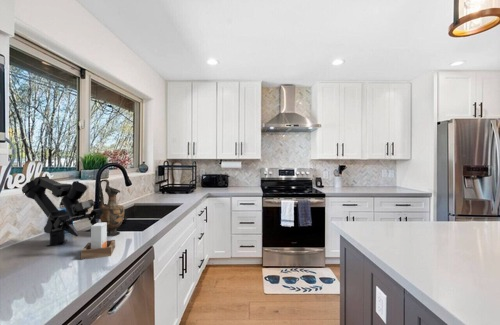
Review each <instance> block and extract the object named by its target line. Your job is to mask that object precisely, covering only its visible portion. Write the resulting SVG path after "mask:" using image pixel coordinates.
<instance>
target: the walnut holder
mask: <svg viewBox="0 0 500 325" xmlns="http://www.w3.org/2000/svg"><path fill="white" fill-rule="evenodd" d="M115 248H116V239H110V240H107V247H105V248H97V249H91V241H90V242H87V244H86V245H85V246H84V247H83V248H82V249H81V251H80V258H81V261H83V260H88V259H96V258H97V259H98V258H104V257H112V255H113V253H114V250H115Z"/></svg>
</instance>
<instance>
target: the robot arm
mask: <svg viewBox="0 0 500 325" xmlns="http://www.w3.org/2000/svg"><path fill="white" fill-rule="evenodd" d="M46 190H49V191H51V194H52V196H54V197H55V198H62V199H60V202H59V205H60V206H63V207H64V208H65V209H62V210H60V209H58V208H57V207H56V205H55V204H54V203H53V202H52V200H51V199H50V198H49V196H48V195H47V194H46ZM87 190H88V187H87V185H86V184H84V183H83V182H80V181H79V180H76V181H75V180H74V181H73V182H72V184H71V183H62V182H58V181H56V180H54V179H51V178H49V177H48V176H37V177H34V178H33V180H30V181H28V182H26V183H25V184H24V185H23V186H22V187H21V191H22V194H24V193H25V195H24V196H26V198H28V199H31V200H34V201H35V203H36V204H37V205H38V206H39V207H40V210H42V212H43V213H44V214H45V216H46V217H47V220H46V224H45V225H44V227H43V232H44V233H46V234H49V242H48V243H47V244H46V247H50V246H60V245H61V246H62V245H64V244H65V243H67V242H68V239H66V233H69V234H70V235H72V236H74V237H78V236H79V234H78V231H77V229H76V228H75V226H74V223H73V222H78V221H82V220H86V219H88V220H89V223H90V224H91V226H92V225H94V224H96V223H100V222H99V220H100V216H101V215H102V213H103V211H102V210H101V209H100V208H96V209H92V207H94V206H95V204H96V203H95V201H94V200H93V199H92V198H91V199H88V200H86V201H85V200H84V201H80V199H81V198H82V197H83V195H84V194H85V193H86V191H87ZM90 209H92V210H91V212H90V213H88V212H89V210H90Z"/></svg>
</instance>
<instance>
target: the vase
mask: <svg viewBox="0 0 500 325" xmlns="http://www.w3.org/2000/svg"><path fill="white" fill-rule="evenodd" d="M103 182H105V183H106V184H105V187H104V188H105V189H104V192H105V193H106V194H107V196H108V200H107V201H108V202H107V204H106V205H105V202H104V201H105V200H104V193H103V188H102V183H103ZM97 185H98V192H99V198H100V204H99V209H101V210H102V211H103V213H102V215H101V216H100V218H99V220H100V223H104V222H107V237H114V236H118V235H120V234H121V233H120V231H118V228H119V227H120V226H121V225H122V223H123V222H124V218H125V207H124V205H120V204H118V203H117V195H118V194H121V190H120V189H117V188H115V187H112V186H110V181H109V180H108V179H101V180H99V182H98V183H97Z"/></svg>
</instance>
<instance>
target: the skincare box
mask: <svg viewBox="0 0 500 325" xmlns="http://www.w3.org/2000/svg"><path fill="white" fill-rule="evenodd" d="M107 233H108V229H107V222H104V223H101V222H99V223H96V224H94V225H92V224H91V226H90V242H91V249H97V248H105V247H107V241H108V236H107Z"/></svg>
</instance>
